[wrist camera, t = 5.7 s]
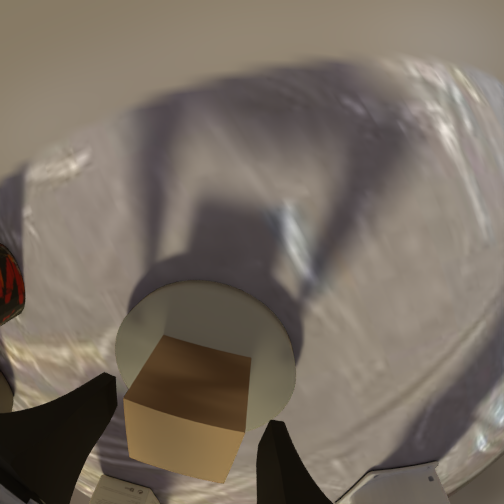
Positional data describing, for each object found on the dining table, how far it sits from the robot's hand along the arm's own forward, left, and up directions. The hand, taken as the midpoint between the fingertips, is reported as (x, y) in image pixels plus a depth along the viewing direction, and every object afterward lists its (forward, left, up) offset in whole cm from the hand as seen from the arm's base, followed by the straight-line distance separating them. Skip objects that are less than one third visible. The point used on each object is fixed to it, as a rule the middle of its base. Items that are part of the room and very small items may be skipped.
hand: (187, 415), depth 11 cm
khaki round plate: (0, 0, -5) cm, 5 cm away
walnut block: (0, 0, -3) cm, 3 cm away
